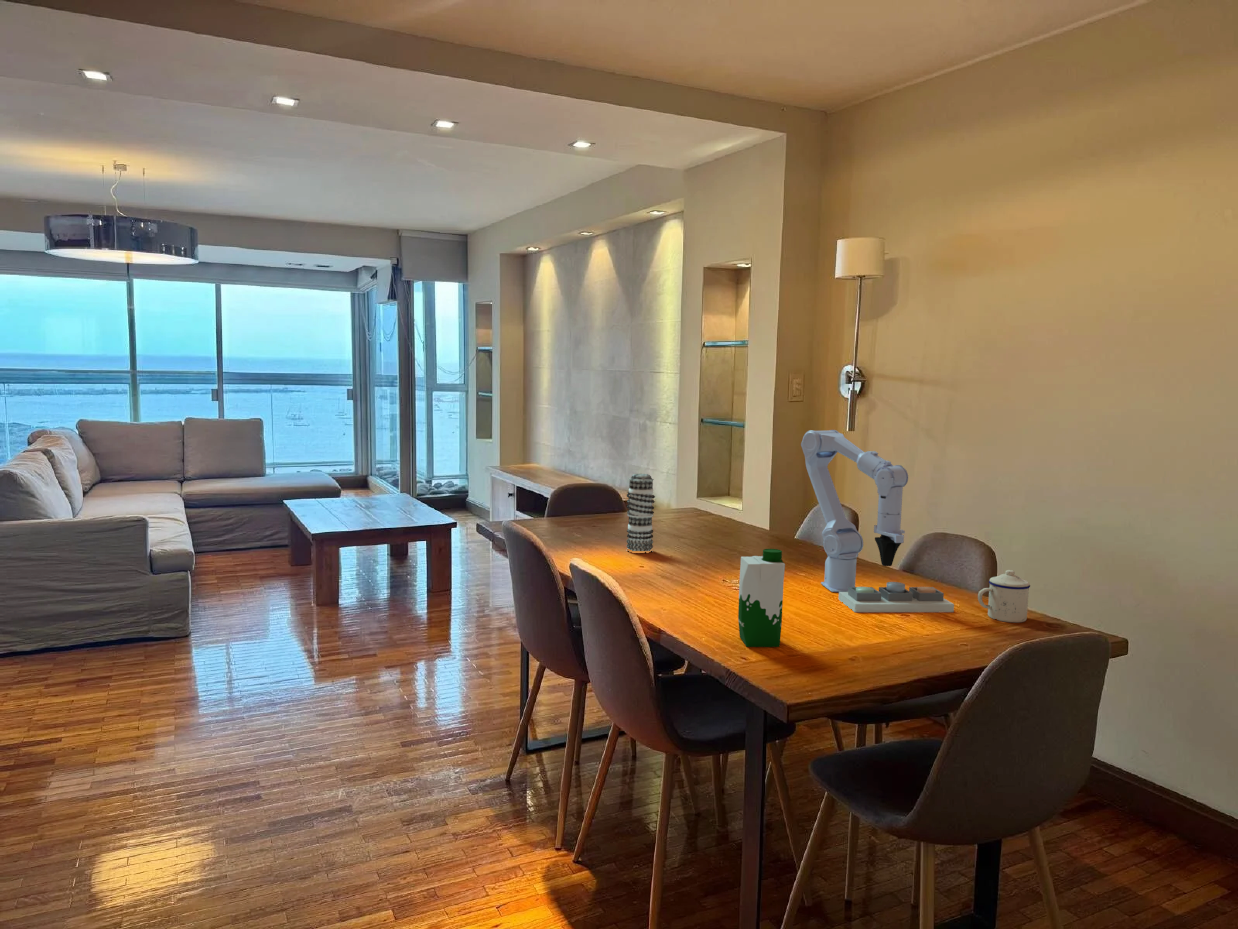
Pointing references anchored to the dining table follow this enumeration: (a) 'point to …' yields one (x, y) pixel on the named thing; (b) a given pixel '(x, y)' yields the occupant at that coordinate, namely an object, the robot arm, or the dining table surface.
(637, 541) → the decorative candle
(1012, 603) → the teacup with lid
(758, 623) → the milk carton
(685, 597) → the dining table surface
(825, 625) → the dining table surface
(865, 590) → the sage button
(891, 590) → the dusty blue button
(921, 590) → the terracotta button
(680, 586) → the dining table surface
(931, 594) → the button console
